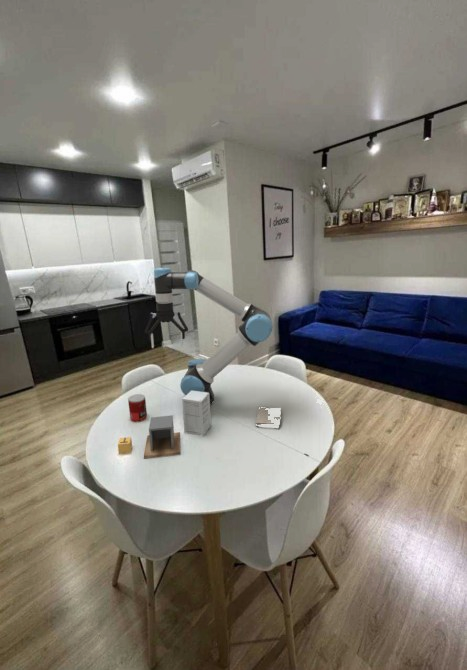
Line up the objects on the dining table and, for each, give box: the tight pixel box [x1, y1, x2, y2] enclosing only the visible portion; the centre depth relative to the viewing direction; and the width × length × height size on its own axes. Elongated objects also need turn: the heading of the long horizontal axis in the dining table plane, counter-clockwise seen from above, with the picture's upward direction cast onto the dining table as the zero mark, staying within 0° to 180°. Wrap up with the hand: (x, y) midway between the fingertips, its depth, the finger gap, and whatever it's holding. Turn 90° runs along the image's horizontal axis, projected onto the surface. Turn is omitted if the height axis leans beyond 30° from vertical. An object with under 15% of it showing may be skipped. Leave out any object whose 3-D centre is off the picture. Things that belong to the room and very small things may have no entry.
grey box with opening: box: [148, 415, 175, 451], centre depth 124 cm, size 9×9×10 cm
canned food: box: [127, 393, 148, 423], centre depth 146 cm, size 8×8×11 cm
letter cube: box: [117, 436, 133, 455], centre depth 123 cm, size 4×4×5 cm
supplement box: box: [181, 390, 212, 437], centre depth 136 cm, size 10×9×17 cm
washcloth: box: [255, 406, 280, 425], centre depth 146 cm, size 12×18×3 cm, turn 171°
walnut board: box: [143, 431, 181, 459], centre depth 126 cm, size 14×14×1 cm
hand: (167, 346), depth 144 cm, fingers open, 13 cm apart
